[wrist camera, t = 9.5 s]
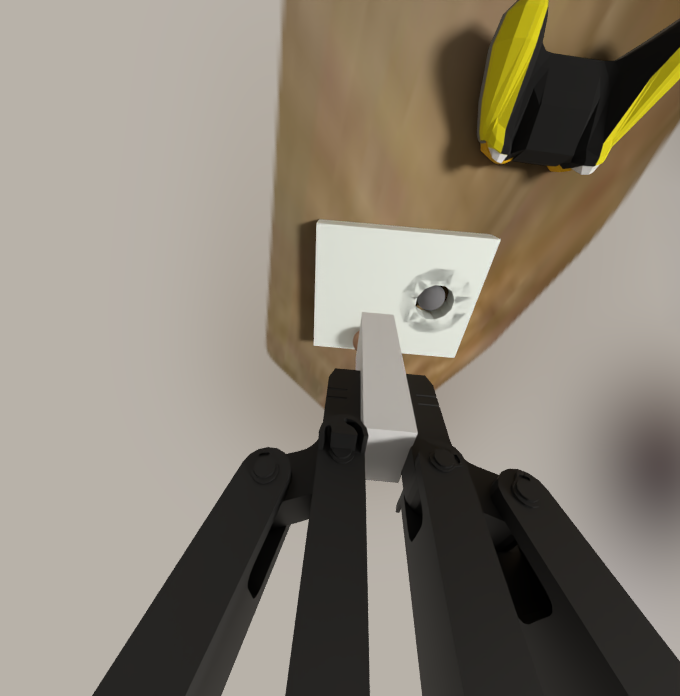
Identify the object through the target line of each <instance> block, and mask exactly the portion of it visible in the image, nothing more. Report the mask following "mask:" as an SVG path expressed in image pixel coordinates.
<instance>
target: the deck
mask: <svg viewBox="0 0 680 696" xmlns="http://www.w3.org/2000/svg"><path fill="white" fill-rule="evenodd" d="M500 240H501V239H499V238H497V237H495V236H493V235H491V234H480V233H469V232H458V231H447V230H436V229H424V228H413V227H402V226H391V225H380V224H368V223H357V222H346V221H335V220H324V219H319V220H318V222H317V226H316V269H315V312H314V346H325V347H337V348H348V349H355V348H354V346H353V337H354V335H355V334H356V333H357V332H358V331H359V330H360V323H361V316H362V312H368V313H379V314H391V315H394V318H395V323H396V328H397V333H398V338H399V343H400V348H401V353H406V354H417V355H428V356H440V357H451V358H454V357H455V355H456V352H457V350H458V347H459V345H460V342H461V340H462V337H463V335H464V332H465V329H466V327H467V324H468V322H469V319H470V317H471V314H472V312H473V309H474V306H475V304H476V301H477V299H478V296H479V294H480V291H481V289H482V286H483V284H484V281H485V278H486V276H487V273H488V271H489V268H490V266H491V263H492V261H493V258H494V255H495V253H496V250H497V248H498V245H499V243H500ZM434 285H439V286H446V287H447V288H448V291H449V293H448V296H447V299H446V301H445V302H444V303H443V304H442V305H441V306H440V307H439V308H438V309H436V310H431V311H425V310H420V309H419V308H417V307H416V306H415V305H416V301H417V297H418V296H419V295H420V294H421V293H422V291H423V290H424V289H426V288H429V287H431V286H434Z"/></svg>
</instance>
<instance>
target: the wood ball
mask: <svg viewBox="0 0 680 696" xmlns="http://www.w3.org/2000/svg"><path fill="white" fill-rule="evenodd" d="M359 331H360V330H359ZM359 331H358V332H357V333H356V334H355V335H354V337H353V346H354V348H355V350H356V351H357V346H358V338H359Z"/></svg>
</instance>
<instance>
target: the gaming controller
mask: <svg viewBox="0 0 680 696" xmlns="http://www.w3.org/2000/svg"><path fill="white" fill-rule="evenodd" d="M548 3H549V0H517V1H516V2H515V3H514V4H513V5H512V6H511V7H510V8H509V9H508V10H507V11H506V12H505V13H504V14H503V16H502V18H501V21H500V23H499V25H498V28H497V30H496V32H495V35H494V37H493V39H492V42H491V44H490V47H489V49H488V54H487V60H486V65H485V70H484V76H483V81H482V86H481V92H480V97H479V104H478V122H477V137H478V141H479V142H480V146H481V151H482V152H483V153H484V154H485V155H486V156H487V157H488V158H489V159H490V160H491V161H492V162H494V163H496V164H504V163H507V162H509V161H515V162H523V163H530V164H537V165H544V166H547V167H548V169H549V170H550V171H552V172H565V171H570V170H574V171H576V172H578V173H579V174H581V175H589V174H591V173H592V172H594V170H595V169H596V168H597V167H598V166H599V165H600V164H601V163H603V161H604V160H605V159H606V157H607V155H608V153H609V151H610V149H611V147H612V146H613V145H614V144H615V143H616V142H617V141H618V140H619V139H620V138H621V137H622V136H623V135H624V134H625V133H626V132H627V131H628V130H629V129H630V128H631V127H632V126H633V125H634V124H635V123H636V122H637V121H638V120H639V119H640V118H641V117H642V116H643V115H644V114H645V113H646V112H647V111H648V110H649V109H650V108H651V107H652V106H653V105H654V104H655V103H656V102H657V101H658V100H659V99H660V98H661V97H662V96H663V95H664V94H665V93H666V92H667V91H668V90H669V89H670V88H671V87H672V86H673V85H674V84H675V83H676V82H677V81H678V80H679V79H680V19H678V20H677V21H675V22H674V23H672V24H671V25H669V26H668V27H666V28H665V29H663V30H662V31H660V32H659V33H657V34H656V35H654V36H653V37H651V38H650V39H648V40H647V41H645V42H644V43H642V44H641V45H639V46H638V47H636V48H634V49H633V50H631V51H630V52H628V53H626V54H625V55H623V56H622V57H620V58H618V59H617V60H615V61H601V60H594V59H588V58H581V57H574V56H568V55H561V54H555V53H551V52H548V51H546V50H545V47H544V45H543V38H544V32H545V27H546V22H547V17H548Z"/></svg>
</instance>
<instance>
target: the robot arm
mask: <svg viewBox="0 0 680 696" xmlns="http://www.w3.org/2000/svg"><path fill="white" fill-rule="evenodd" d="M401 475H402V482H403V491H402V493H401V496H400V498H399V500H398V503H397V506H396V512H398V513H399V512H400V510H402V519H403V529H404V537H405V546H406V555H407V563H408V573H409V582H410V591H411V600H412V609H413V617H414V625H415V635H416V644H417V653H418V662H419V670H420V680H421V688H422V696H680V661H679V660H678V659H677V657H676V656H675V655H674V653H673V652H672V651H671V649H670V648H669V647H668V646H667V644H666V643H665V642H664V641H663V639H662V638H661V636H660V635H659V634H658V633H657V631H656V630H655V629H654V627H653V626H652V625H651V624H650V622H649V621H648V620H647V619H646V617H645V616H644V615H643V613H642V612H641V611H640V609H639V608H638V607H637V605H636V604H635V603H634V601H633V600H632V599H631V598H630V596H629V595H628V594H627V592H626V591H625V590H624V589H623V587H622V586H621V585H620V583H619V582H618V581H617V579H616V578H615V577H614V576H613V574H612V573H611V572H610V570H609V569H608V568H607V567H606V566H605V564H604V563H603V561H602V560H601V559H600V557H599V556H598V555H597V553H595V551H594V549H593V548H592V547H591V546H590V544H589V543H588V542H587V541H586V539H585V538H584V537H583V535H582V534H581V533H580V531H579V530H578V529H577V527H576V526H575V525H574V524H573V522H572V521H571V520H570V518H569V517H568V516H567V514H566V513H565V512H564V511H563V509H562V508H561V507H560V506H559V504H558V503H557V501H556V500H555V499H554V498H553V497H552V495H551V494H550V492H549V491H548V490H547V489H546V488H545V487H544V486H543V484H541V482H540V481H539V480H537V479H536V478H534V477H533V476H532V475H530V474H528V473H526V472H524V471H521V470H518V469H507V470H505V471H502V472H501V474H500V475H497V474H495V473H492V472H490V471H487V470H484V469H482V468H479V467H477V466H475V465H473V464H471V463H469V462H467V461H466V460H465V459H464V458H463V456H462V454H461V453H460V452H459V451H458V450H457V449H456V448H455V447H453V446H452V444H451V442H450V439H449V436H448V433H447V429H446V426H445V423H444V420H443V416H442V413H441V410H440V407H439V403H438V401H437V398H436V394H435V390H434V387H433V385H432V384H431V382H430V381H429V380H428V379H427V378H426V376H423V375H412V374H406V372H405V368H404V363H403V358H402V353H401V348H400V343H399V338H398V333H397V328H396V323H395V318H394V315H391V314H379V313H368V312H362V316H361V323H360V331H359V338H358V346H357V354H356V370H347V369H336V368H335V370H334V371H333V372H332V374H331V375H330V376H329V381H328V389H327V396H326V404H325V411H324V419H323V423H322V425H321V427H320V430H319V439H318V440H317V441H316V442H315V443H314V444H313V445H312V446H310V447H309V448H307V449H305V450H301V451H298V452H294V453H289V454H285V453H284V452H282V451H281V450H279V449H277V448H270V447H267V448H262V449H258V450H256V451H255V452H253V453H251V454H250V455H249V456H248V457H247V458H246V459H245V460H244V461H243V463H242V464H241V466H240V467H239V469H238V470H237V472H236V473H235V475H234V476H233V478H232V480H231V481H230V483H229V484H228V486H227V487H226V489H225V490H224V492H223V494H222V495H221V497H220V498H219V500H218V501H217V503H216V504H215V506H214V507H213V509H212V511H211V512H210V514H209V515H208V517H207V519H206V520H205V521H204V523H203V525H202V526H201V528H200V529H199V531H198V532H197V534H196V535H195V537H194V539H193V540H192V542H191V543H190V545H189V546H188V548H187V549H186V551H185V552H184V554H183V556H182V557H181V559H180V560H179V562H178V563H177V565H176V566H175V568H174V570H173V571H172V573H171V574H170V576H169V577H168V579H167V580H166V582H165V583H164V585H163V587H162V588H161V590H160V591H159V593H158V594H157V596H156V597H155V599H154V601H153V602H152V604H151V605H150V607H149V608H148V610H147V611H146V613H145V615H144V616H143V618H142V619H141V621H140V622H139V624H138V625H137V627H136V628H135V630H134V632H133V633H132V635H131V636H130V638H129V639H128V641H127V643H126V644H125V646H124V647H123V649H122V650H121V652H120V653H119V655H118V656H117V658H116V659H115V661H114V663H113V664H112V666H111V667H110V669H109V670H108V672H107V673H106V675H105V677H104V678H103V680H102V681H101V683H100V684H99V686H98V688H97V689H96V691H95V692H94V694H93V695H92V696H221V694H222V692H223V690H224V687H225V685H226V682H227V680H228V677H229V675H230V672H231V670H232V667H233V665H234V663H235V660H236V658H237V655H238V652H239V650H240V648H241V645H242V643H243V640H244V638H245V636H246V633H247V631H248V628H249V626H250V623H251V621H252V618H253V616H254V613H255V611H256V608H257V606H258V604H259V601H260V599H261V596H262V594H263V591H264V589H265V586H266V584H267V581H268V579H269V577H270V574H271V571H272V569H273V567H274V564H275V562H276V559H277V557H278V554H279V552H280V549H281V547H282V544H283V542H284V540H285V537H286V535H287V532H288V530H289V527H290V525H291V524H294V523H297V522H300V521H304V520H307V519H309V523H308V530H307V538H306V545H305V552H304V560H303V567H302V575H301V582H300V590H299V598H298V605H297V613H296V620H295V628H294V635H293V642H292V650H291V657H290V665H289V672H288V680H287V687H286V695H285V696H370V689H369V688H370V685H369V638H368V637H369V636H368V635H369V634H368V584H367V536H366V491H365V490H366V489H365V480H374V481H385V482H396V483H398V482H399V480H400V477H401Z"/></svg>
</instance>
